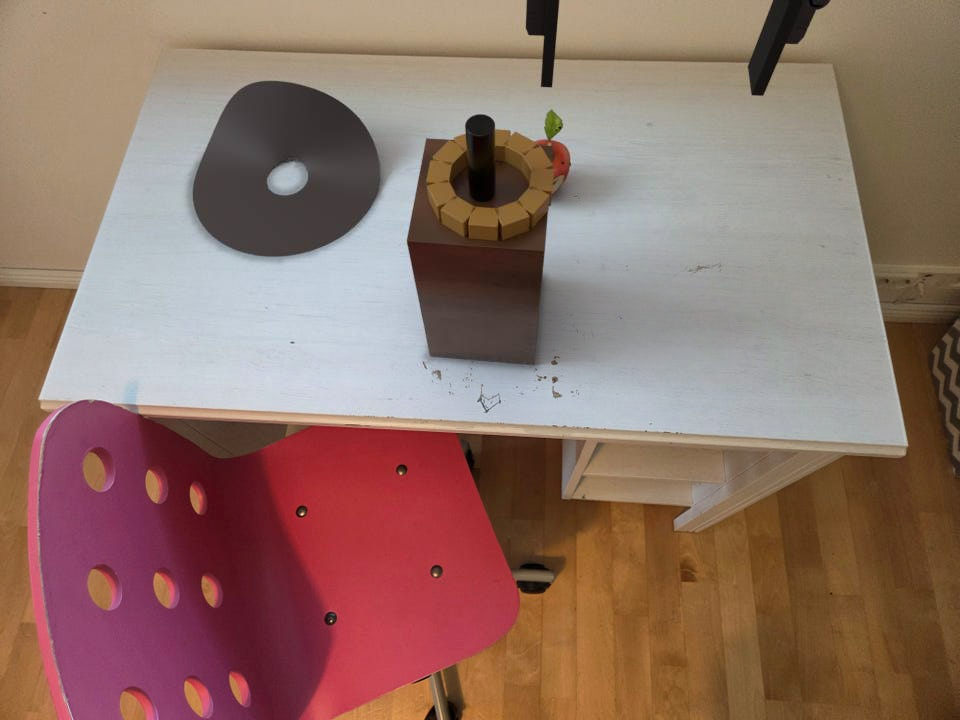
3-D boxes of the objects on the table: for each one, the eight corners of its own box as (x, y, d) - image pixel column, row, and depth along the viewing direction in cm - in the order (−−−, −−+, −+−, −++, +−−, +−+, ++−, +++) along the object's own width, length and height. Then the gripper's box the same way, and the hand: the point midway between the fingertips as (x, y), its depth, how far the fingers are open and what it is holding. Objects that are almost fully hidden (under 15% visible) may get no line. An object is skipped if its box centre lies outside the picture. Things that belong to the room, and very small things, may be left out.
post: (494, 203, 62) (493, 136, 54) (467, 201, 62) (463, 135, 55) (497, 182, 63) (496, 114, 55) (470, 180, 63) (466, 112, 56)
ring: (547, 245, 59) (548, 231, 58) (420, 235, 60) (418, 220, 58) (555, 148, 64) (557, 132, 62) (439, 140, 65) (437, 124, 63)
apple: (571, 207, 89) (579, 151, 80) (519, 213, 88) (521, 157, 80) (561, 162, 92) (567, 103, 83) (510, 167, 92) (511, 109, 83)
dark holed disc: (162, 238, 88) (125, 188, 80) (221, 124, 97) (194, 68, 88) (348, 271, 85) (331, 222, 77) (392, 150, 94) (381, 94, 85)
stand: (533, 365, 79) (544, 251, 59) (429, 356, 80) (406, 241, 60) (541, 277, 84) (553, 145, 64) (443, 269, 85) (426, 137, 65)
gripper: (1065, -412, 28) (836, 44, 47) (447, -409, 29) (467, 32, 48) (1129, -329, 24) (853, 126, 43) (425, -331, 26) (457, 110, 45)
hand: (650, 77), depth 46 cm, fingers open, 13 cm apart
